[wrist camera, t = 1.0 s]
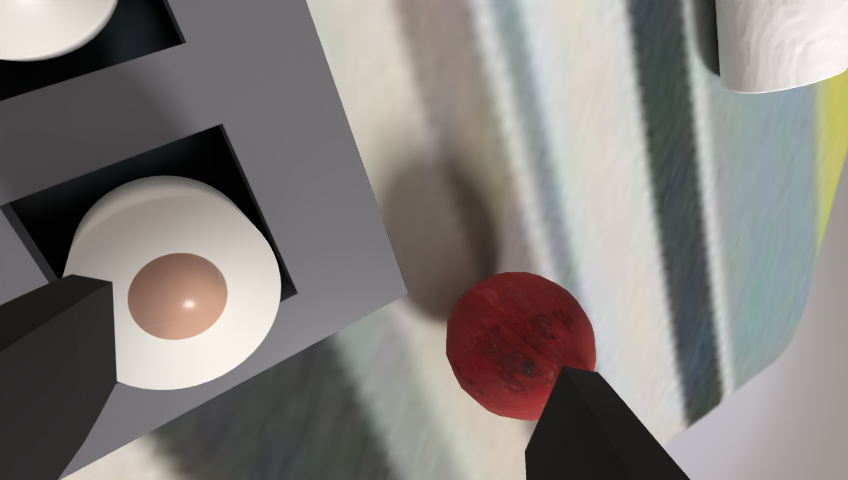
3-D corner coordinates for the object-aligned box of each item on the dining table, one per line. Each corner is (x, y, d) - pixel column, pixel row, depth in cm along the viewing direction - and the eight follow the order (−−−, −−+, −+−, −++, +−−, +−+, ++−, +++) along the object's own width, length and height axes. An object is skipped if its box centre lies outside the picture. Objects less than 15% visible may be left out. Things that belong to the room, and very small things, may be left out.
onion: (393, 352, 25) (498, 458, 18) (448, 233, 24) (576, 294, 18) (489, 380, 28) (609, 479, 21) (538, 274, 27) (677, 339, 21)
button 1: (125, 365, 15) (126, 425, 12) (32, 219, 13) (11, 253, 11) (278, 290, 16) (308, 330, 14) (213, 149, 15) (233, 164, 12)
